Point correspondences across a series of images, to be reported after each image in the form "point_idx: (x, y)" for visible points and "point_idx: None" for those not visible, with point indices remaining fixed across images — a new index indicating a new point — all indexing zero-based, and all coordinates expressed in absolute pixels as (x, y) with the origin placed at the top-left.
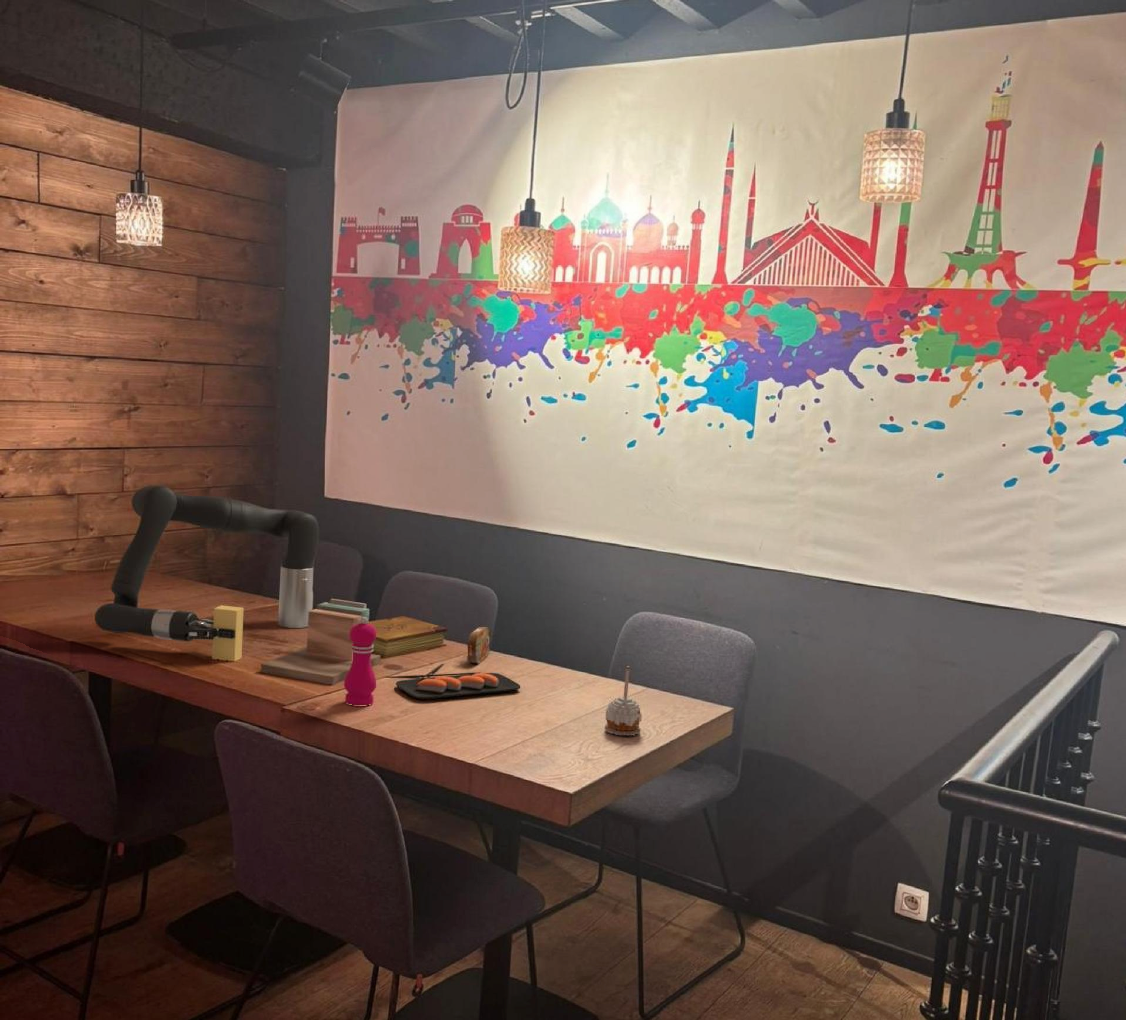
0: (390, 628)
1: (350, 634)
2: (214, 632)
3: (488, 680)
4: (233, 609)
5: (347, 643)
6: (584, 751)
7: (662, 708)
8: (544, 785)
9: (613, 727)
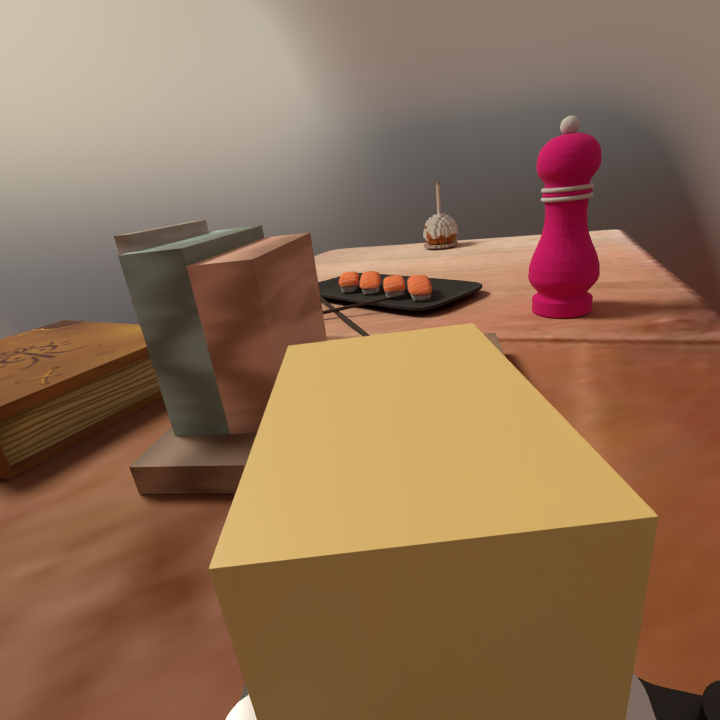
0: (53, 352)
1: (598, 155)
2: (697, 705)
3: (359, 276)
4: (429, 353)
5: (318, 316)
6: (515, 242)
7: (351, 254)
8: (623, 232)
9: (454, 239)
